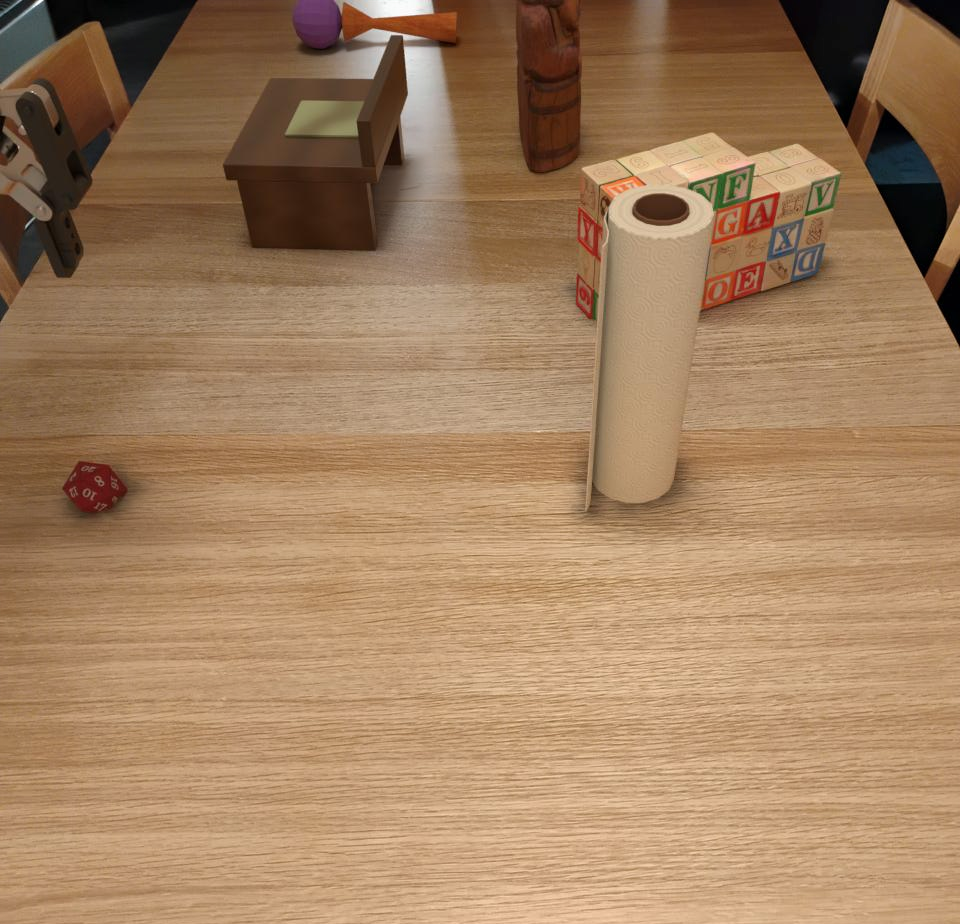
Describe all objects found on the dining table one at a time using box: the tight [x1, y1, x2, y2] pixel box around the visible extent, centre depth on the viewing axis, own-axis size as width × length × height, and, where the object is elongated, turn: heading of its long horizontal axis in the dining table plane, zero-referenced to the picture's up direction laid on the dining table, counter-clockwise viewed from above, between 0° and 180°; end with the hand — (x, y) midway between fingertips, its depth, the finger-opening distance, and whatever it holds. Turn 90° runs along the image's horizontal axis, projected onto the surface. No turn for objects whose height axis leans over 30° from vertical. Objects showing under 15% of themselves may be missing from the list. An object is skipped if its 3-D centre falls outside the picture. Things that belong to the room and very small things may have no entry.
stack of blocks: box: [575, 132, 842, 320], centre depth 84 cm, size 21×6×12 cm, turn 114°
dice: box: [61, 460, 128, 514], centre depth 72 cm, size 4×4×4 cm
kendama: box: [291, 0, 458, 50], centre depth 123 cm, size 6×6×20 cm
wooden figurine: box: [515, 0, 583, 173], centre depth 99 cm, size 12×6×18 cm, turn 3°
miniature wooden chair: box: [222, 34, 409, 251], centre depth 96 cm, size 14×18×12 cm
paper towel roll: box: [584, 185, 714, 512], centre depth 65 cm, size 7×6×21 cm
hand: (1, 270), depth 60 cm, fingers open, 8 cm apart
